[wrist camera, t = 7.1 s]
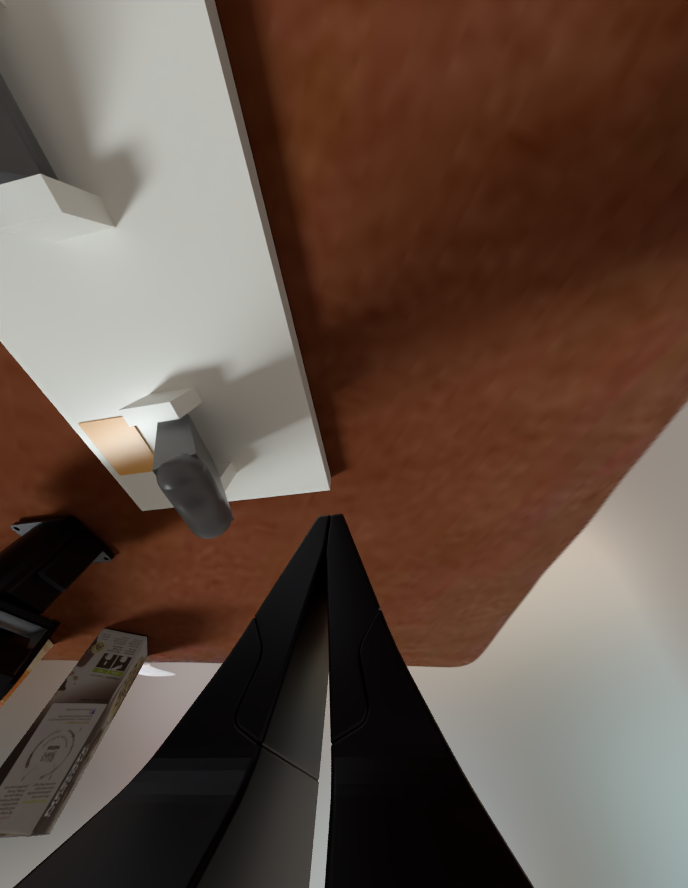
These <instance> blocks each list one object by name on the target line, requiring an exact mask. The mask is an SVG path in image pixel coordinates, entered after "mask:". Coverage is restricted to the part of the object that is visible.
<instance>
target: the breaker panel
mask: <svg viewBox="0 0 688 888" xmlns="http://www.w3.org/2000/svg"><path fill="white" fill-rule="evenodd" d="M0 341H1V342H2V344H3V345H4V346H5V347H6V348H7V350H8V351H9V352H10V353H11V354H12V356H13V357H14V358H15V359H16V360H17V362H18V363H19V364H20V365H21V366H22V368H23V369H24V370H25V371H26V372H27V374H28V375H29V376H30V377H31V378H32V380H33V381H34V382H35V383H36V384H37V386H38V387H39V388H40V389H41V390H42V392H43V393H44V394H45V395H46V396H47V398H48V399H49V400H50V401H51V402H52V404H53V405H54V406H55V407H56V408H57V410H58V411H59V412H60V413H61V414H62V416H63V417H64V418H65V419H66V420H67V422H68V423H69V424H70V425H71V426H72V428H73V429H74V430H75V431H76V432H77V434H78V435H79V436H80V437H81V438H82V440H83V441H84V442H85V443H86V444H87V446H88V447H89V448H90V449H91V450H92V452H93V453H94V454H95V455H96V456H97V458H98V459H99V460H100V461H101V462H102V464H103V465H104V466H105V467H106V468H107V470H108V471H109V472H110V473H111V474H112V476H113V477H114V478H115V479H116V480H117V482H118V483H119V484H120V485H121V486H122V488H123V489H124V490H125V491H126V492H127V493H128V495H129V496H130V497H131V498H132V499H133V501H134V502H135V503H136V504H137V505H138V507H139V508H140V509H141V510H142V511H147V510H156V509H165V508H174V507H173V505H172V504H171V502H170V501H169V500H168V498H167V497H166V496H165V494H164V493H163V492H162V490H161V489H160V487H159V485H158V483H157V479H156V475H155V474H154V472H153V471H152V467H153V459H154V450H155V441H156V432H157V424H158V422H164V421H170V420H177V419H180V418H182V417H183V416H184V415H186V414H187V413H188V415H189V417H190V418H191V420H192V422H193V424H194V426H195V428H196V430H197V431H198V433H199V435H200V437H201V439H202V441H203V443H204V444H205V446H206V448H207V450H208V452H209V454H210V456H211V457H212V459H213V461H214V463H215V465H216V468H217V471H218V474H219V477H220V480H221V483H222V485H223V488H224V491H225V494H226V497H227V500H228V501H237V500H246V499H255V498H264V497H273V496H282V495H291V494H300V493H309V492H318V491H327V490H330V484H331V475H330V471H329V467H328V463H327V459H326V455H325V451H324V446H323V442H322V438H321V434H320V430H319V426H318V422H317V418H316V414H315V410H314V406H313V401H312V397H311V393H310V389H309V385H308V381H307V377H306V373H305V369H304V365H303V361H302V356H301V352H300V348H299V344H298V340H297V336H296V332H295V328H294V324H293V320H292V315H291V311H290V307H289V303H288V299H287V295H286V291H285V287H284V283H283V279H282V275H281V270H280V266H279V262H278V258H277V254H276V250H275V246H274V242H273V238H272V234H271V230H270V225H269V221H268V217H267V213H266V209H265V205H264V201H263V197H262V193H261V189H260V184H259V180H258V176H257V172H256V168H255V164H254V160H253V156H252V152H251V148H250V144H249V139H248V135H247V131H246V127H245V123H244V119H243V115H242V111H241V107H240V103H239V99H238V94H237V90H236V86H235V82H234V78H233V74H232V70H231V66H230V62H229V58H228V53H227V49H226V45H225V41H224V37H223V33H222V29H221V25H220V21H219V17H218V13H217V8H216V4H215V0H0Z"/></svg>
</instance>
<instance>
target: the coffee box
mask: <svg viewBox="0 0 688 888" xmlns="http://www.w3.org/2000/svg"><path fill="white" fill-rule="evenodd" d="M146 658H147V637H146V636H140V635H135V634H130V633H125V632H119V631H115V630H110V629H103V630H102V631H101V632H100V633H99V635H98V636H97V638H96V639H95V640H94V642H93V643H92V644H91V646H90V647H89V648H88V650H87V651H86V652H85V654H84V655H83V656H82V658H81V659H80V661H79V662H78V664H77V665H76V666H75V667H74V669H73V670H72V671H71V673H70V674H69V675H68V677H67V678H66V679H65V681H64V682H63V684H62V685H61V686H60V688H59V689H58V691H57V692H56V693H55V694H54V696H53V697H52V699H51V700H50V701H49V703H48V704H47V705H46V707H45V708H44V709H43V711H42V712H41V713H40V715H39V716H38V718H37V719H36V720H35V722H34V723H33V724H32V726H31V727H30V729H29V730H28V731H27V733H26V734H25V735H24V737H23V738H22V739H21V741H20V742H19V743H18V744H17V746H16V747H15V749H14V750H13V751H12V753H11V754H10V756H9V757H8V758H7V759H6V761H5V762H4V763H3V765H2V766H1V768H0V838H3V837H18V836H27V837H29V836H38V835H46V834H50V833H51V831H52V829H53V827H54V825H55V823H56V822H57V820H58V818H59V816H60V814H61V813H62V811H63V809H64V807H65V805H66V803H67V802H68V800H69V798H70V796H71V795H72V793H73V791H74V789H75V787H76V786H77V784H78V782H79V780H80V778H81V776H82V775H83V773H84V771H85V769H86V767H87V766H88V764H89V762H90V760H91V758H92V757H93V755H94V753H95V751H96V749H97V747H98V746H99V744H100V742H101V740H102V738H103V736H104V735H105V733H106V731H107V729H108V727H109V726H110V724H111V722H112V720H113V718H114V716H115V715H116V713H117V711H118V709H119V707H120V705H121V704H122V702H123V700H124V698H125V696H126V694H127V693H128V691H129V689H130V687H131V685H132V684H133V682H134V680H135V678H136V676H137V674H138V673H139V671H140V669H141V667H142V665H143V664H144V662H145V660H146Z"/></svg>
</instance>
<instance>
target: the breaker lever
mask: <svg viewBox="0 0 688 888" xmlns="http://www.w3.org/2000/svg"><path fill="white" fill-rule="evenodd" d="M152 471H153V472H154V474H155V475H156V479H157V483H158V485H159V487H160V489H161V490H162V492H163V493H164V494H165V496H166V497H167V498H168V500H169V501H170V502H171V504H172V505H173V507H174V508H175V509H176V511H177V512H178V513H179V515H180V516H181V518H182V519H183V520H184V522H185V523H186V524H187V526H188V527H189V528H190V530H191V531H192V532H193V533H194V534H195V535H196V536H198V537H200V538H204V539H211V538H215V537H218V536H220V535H221V534H223V533H224V532H225V531H226V530H227V529H228V528H229V526H230V524H231V521H232V520H234V517H233V515H232V511H231V508H230V506H229V503H228V500H227V497H226V494H225V491H224V488H223V485H222V483H221V480H220V477H219V474H218V471H217V468H216V465H215V463H214V461H213V459H212V457H211V456H210V454H209V452H208V450H207V448H206V446H205V444H204V443H203V441H202V439H201V437H200V435H199V433H198V431H197V430H196V428H195V426H194V424H193V422H192V420H191V418H190V417H189V415H188V413H187V414H186V415H184V416H183V417H182V418H180V419H177V420H170V421H164V422H158V424H157V432H156V441H155V450H154V459H153V467H152Z"/></svg>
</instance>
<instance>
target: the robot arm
mask: <svg viewBox="0 0 688 888" xmlns="http://www.w3.org/2000/svg"><path fill="white" fill-rule="evenodd" d="M10 527H11V528H12V529H13V530H14V531H15V532H16V533H18V534H19V535H20V536H21V537H20V538H18V539H17V540H16V541H14V542H13V543H12V544H10V545H9V546H8V547H6V548H5V549H4V550H2V551H1V552H0V701H1V700H2V699H3V698H4V697H5V696H6V695H7V694H8V692H9V691H10V690H11V689H12V688H13V687H14V685H15V684H16V683H17V682H18V680H19V679H20V678H21V676H22V675H23V674H24V672H25V671H26V670H27V668H28V667H29V665H30V664H31V663H32V661H33V660H34V659H35V657H36V656H37V655H38V653H39V652H40V650H41V649H42V648H43V646H44V645H45V644H46V642H47V641H48V640H49V638H50V637H51V635H52V634H53V633H54V631H55V630H56V629H57V627H58V626H59V625H60V623H61V622H59V621H57V620H51V619H48V618H46V617H44V616H41V615H39V614H42V613H43V612H44V611H45V610H46V609H47V608H48V607H49V606H50V605H51V604H52V603H53V602H54V601H55V600H56V599H57V598H58V597H59V595H60V594H61V593H62V592H64V591H65V590H67V588H68V587H69V586H70V585H71V584H72V583H73V582H74V581H75V580H76V579H77V578H78V577H79V576H80V575H81V574H82V573H83V572H84V571H85V570H86V569H87V568H88V566H89V565H90V564H91V563H99V562H110V561H111V560H112V559H113V558H114V555H113V554H112V553H111V552H110V551H109V550H108V549H107V548H106V547H105V546H104V545H103V544H102V543H100V542H99V541H98V540H97V539H96V538H95V537H94V536H93V535H92V534H91V533H90V532H89V531H88V530H87V529H86V528H85V527H84V526H82V525H81V524H80V523H79V522H78V521H77V520H76V519H75V518H73V517H70V516H65V517H56V518H47V519H38V520H29V521H20V522H15V523H14V524H13V525H11V526H10ZM328 674H329V686H330V687H329V688H330V725H331V726H330V727H331V743H332V746H331V804H330V819H329V834H328V849H327V863H326V877H325V878H326V879H325V888H534V887H533V885H532V884H531V882H530V880H529V879H528V877H527V876H526V874H525V872H524V871H523V869H522V867H521V866H520V864H519V863H518V861H517V859H516V858H515V856H514V855H513V853H512V852H511V850H510V848H509V847H508V845H507V843H506V842H505V841H504V839H503V837H502V835H501V834H500V832H499V831H498V829H497V828H496V826H495V824H494V823H493V821H492V819H491V818H490V816H489V815H488V813H487V811H486V810H485V808H484V806H483V805H482V803H481V801H480V800H479V798H478V796H477V795H476V793H475V791H474V790H473V788H472V786H471V785H470V783H469V781H468V779H467V778H466V776H465V774H464V772H463V771H462V769H461V767H460V765H459V764H458V762H457V760H456V758H455V756H454V755H453V753H452V751H451V749H450V747H449V745H448V743H447V742H446V740H445V738H444V736H443V734H442V732H441V731H440V728H439V727H438V725H437V723H436V721H435V719H434V717H433V715H432V714H431V712H430V710H429V708H428V706H427V704H426V703H425V700H424V699H423V697H422V695H421V693H420V691H419V690H418V687H417V685H416V684H415V682H414V680H413V678H412V676H411V674H410V672H409V670H408V668H407V666H406V664H405V662H404V660H403V658H402V656H401V654H400V652H399V650H398V648H397V646H396V644H395V642H394V639H393V637H392V635H391V632H390V630H389V628H388V625H387V623H386V620H385V618H384V615H383V613H382V611H381V609H380V606H379V603H378V601H377V598H376V596H375V593H374V591H373V588H372V586H371V583H370V581H369V578H368V576H367V573H366V571H365V568H364V566H363V563H362V561H361V558H360V556H359V553H358V551H357V548H356V546H355V543H354V541H353V538H352V536H351V533H350V531H349V528H348V525H347V523H346V520H345V518H344V516H343V514H334V515H331V516H330V515H325V516H319V517H318V518H317V520H316V521H315V523H314V524H313V526H312V527H311V529H310V530H309V532H308V534H307V535H306V537H305V538H304V540H303V541H302V543H301V545H300V546H299V548H298V549H297V551H296V552H295V554H294V555H293V557H292V559H291V560H290V562H289V563H288V565H287V566H286V568H285V570H284V571H283V573H282V574H281V576H280V577H279V579H278V580H277V582H276V584H275V585H274V587H273V588H272V590H271V591H270V593H269V595H268V596H267V598H266V599H265V601H264V602H263V604H262V605H261V607H260V609H259V610H258V612H257V613H256V615H255V618H253V619H252V621H251V622H250V624H249V626H248V627H247V629H246V630H245V632H244V633H243V635H242V636H241V638H240V639H239V641H238V642H237V644H236V645H235V647H234V648H233V650H232V651H231V653H230V654H229V656H228V657H227V658H226V660H225V661H224V663H223V664H222V665H221V667H220V668H219V669H218V671H217V672H216V674H215V675H214V676H213V678H212V679H211V681H210V682H209V683H208V684H207V686H206V687H205V689H204V690H203V691H202V692H201V694H200V695H199V696H198V698H197V699H196V701H195V702H194V703H193V704H192V706H191V707H190V708H189V710H188V711H187V712H186V714H185V715H184V716H183V718H182V719H181V720H180V722H179V723H178V724H177V726H176V727H175V728H174V730H173V731H172V732H171V733H170V735H169V736H168V737H167V739H166V740H165V741H164V743H163V744H162V745H161V747H160V748H159V749H158V750H157V752H156V753H155V754H154V756H153V757H152V758H151V759H150V760H149V762H148V763H147V764H146V765H145V766H144V768H143V769H142V770H141V771H140V772H139V773H138V774H137V775H136V776H135V777H134V778H133V780H132V781H131V782H130V783H129V784H128V785H127V786H126V787H125V788H124V789H123V790H122V791H121V792H120V793H119V794H118V795H117V796H116V797H114V798H113V799H112V800H111V801H110V802H109V803H108V804H107V805H106V806H105V807H103V808H102V809H101V810H100V811H99V812H98V813H97V814H96V815H94V816H93V817H92V818H91V819H90V820H89V821H88V822H86V823H85V824H84V825H83V826H82V827H81V828H80V829H79V830H78V831H76V832H75V833H74V834H73V835H72V836H71V837H70V838H68V839H67V840H66V841H65V842H64V843H63V844H62V845H61V846H60V847H58V848H57V849H56V850H55V851H54V852H53V853H52V854H51V855H49V856H48V857H47V858H46V859H45V860H44V861H43V862H41V863H40V864H39V865H38V866H37V867H36V868H35V869H34V870H32V871H31V872H30V873H29V874H28V875H27V876H26V877H25V878H24V879H22V880H21V881H20V882H19V883H18V884H17V885H16V886H14V887H13V888H309V881H310V870H311V860H312V849H313V838H314V828H315V827H314V826H315V816H316V805H317V795H318V784H319V782H318V779H319V772H320V761H321V750H322V739H323V728H324V717H325V707H326V695H327V685H328Z"/></svg>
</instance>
